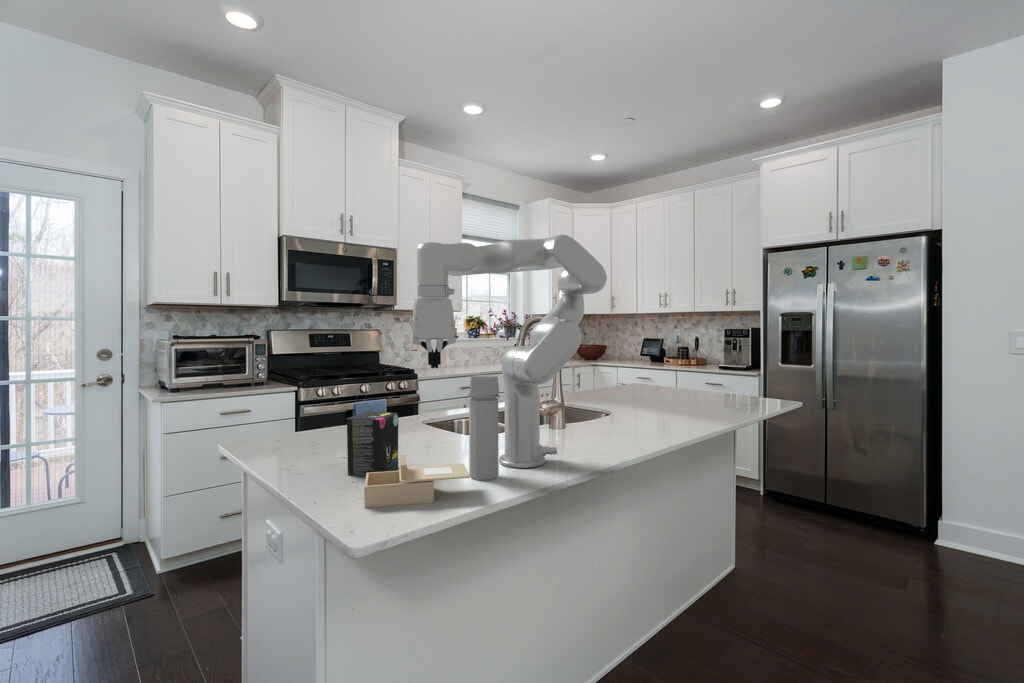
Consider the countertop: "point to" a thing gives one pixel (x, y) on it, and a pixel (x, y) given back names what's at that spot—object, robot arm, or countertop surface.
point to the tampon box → (372, 443)
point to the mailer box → (395, 490)
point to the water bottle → (483, 427)
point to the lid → (430, 472)
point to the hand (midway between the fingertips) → (434, 367)
